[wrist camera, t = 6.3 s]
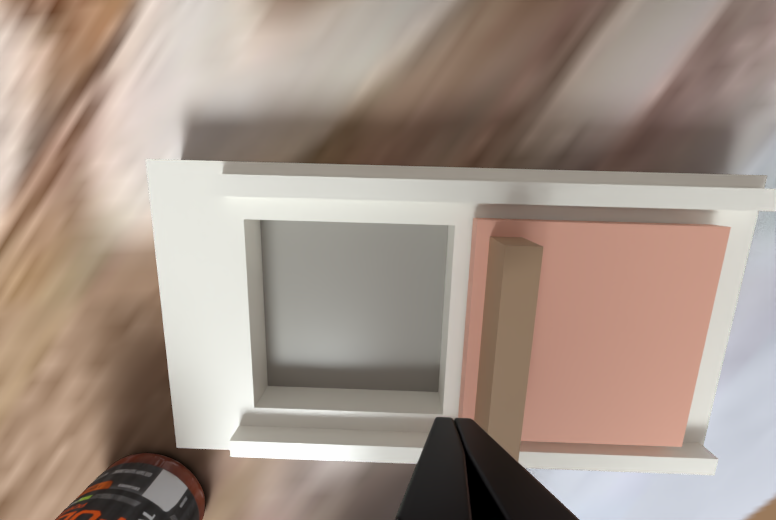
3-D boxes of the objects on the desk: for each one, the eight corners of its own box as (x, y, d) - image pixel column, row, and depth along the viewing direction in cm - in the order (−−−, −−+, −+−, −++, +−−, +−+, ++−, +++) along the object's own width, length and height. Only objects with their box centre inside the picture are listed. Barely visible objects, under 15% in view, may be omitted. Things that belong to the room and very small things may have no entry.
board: (660, 432, 19) (716, 485, 16) (202, 415, 19) (163, 463, 16) (714, 176, 16) (795, 174, 13) (180, 162, 17) (127, 157, 13)
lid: (667, 433, 16) (723, 485, 13) (457, 426, 16) (469, 475, 14) (712, 224, 14) (788, 234, 11) (473, 217, 14) (491, 226, 12)
